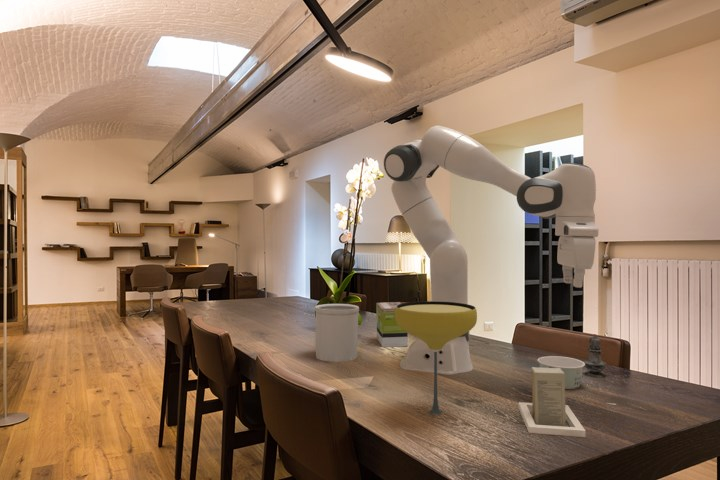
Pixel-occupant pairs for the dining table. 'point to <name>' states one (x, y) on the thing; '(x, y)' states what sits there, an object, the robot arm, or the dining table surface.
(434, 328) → the cocktail glass
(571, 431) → the beige flat frame
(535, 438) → the dining table surface
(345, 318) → the utensil holder
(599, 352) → the grey tiered upright piece
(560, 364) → the food container
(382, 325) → the tea box
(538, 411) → the skincare box
